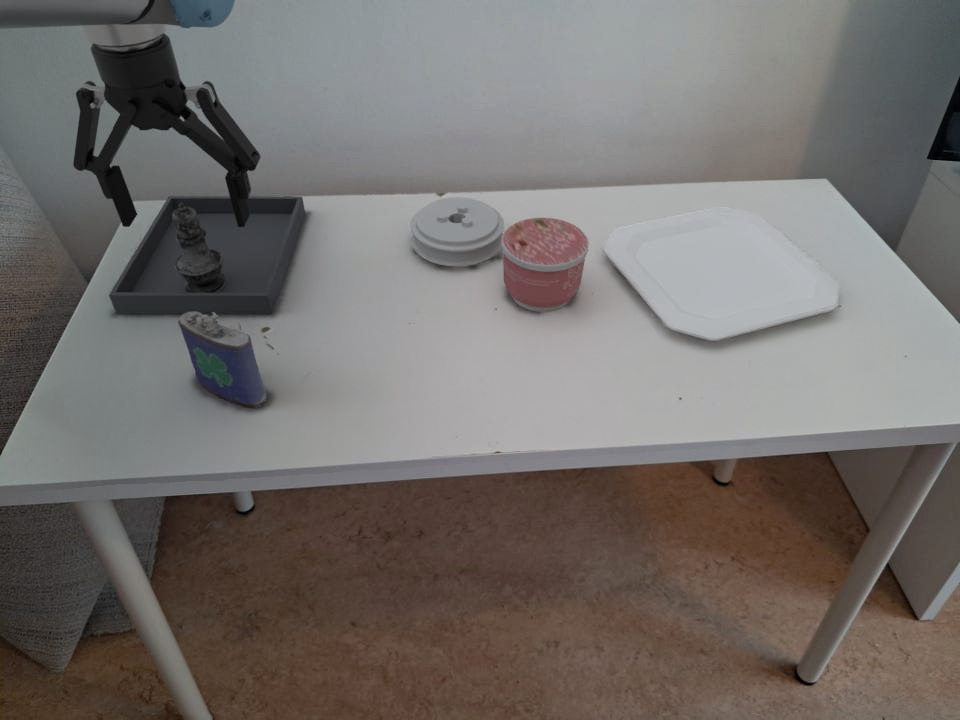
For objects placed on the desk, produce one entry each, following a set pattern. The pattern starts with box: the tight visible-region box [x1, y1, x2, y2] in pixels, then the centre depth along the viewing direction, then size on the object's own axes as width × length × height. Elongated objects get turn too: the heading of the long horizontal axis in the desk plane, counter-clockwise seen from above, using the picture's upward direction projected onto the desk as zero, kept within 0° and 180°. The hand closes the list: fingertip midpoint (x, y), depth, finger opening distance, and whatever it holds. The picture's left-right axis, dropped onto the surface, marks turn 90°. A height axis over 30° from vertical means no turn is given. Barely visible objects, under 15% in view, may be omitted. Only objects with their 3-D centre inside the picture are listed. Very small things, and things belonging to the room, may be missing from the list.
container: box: [501, 217, 590, 313], centre depth 90 cm, size 10×10×8 cm
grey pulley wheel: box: [410, 196, 505, 267], centre depth 99 cm, size 13×13×5 cm
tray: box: [108, 195, 306, 315], centre depth 97 cm, size 23×19×3 cm
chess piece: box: [172, 202, 227, 293], centre depth 89 cm, size 6×6×12 cm
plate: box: [602, 205, 842, 342], centre depth 95 cm, size 25×25×2 cm
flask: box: [177, 311, 268, 409], centre depth 76 cm, size 9×3×11 cm, turn 61°
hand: (187, 221), depth 87 cm, fingers open, 13 cm apart
